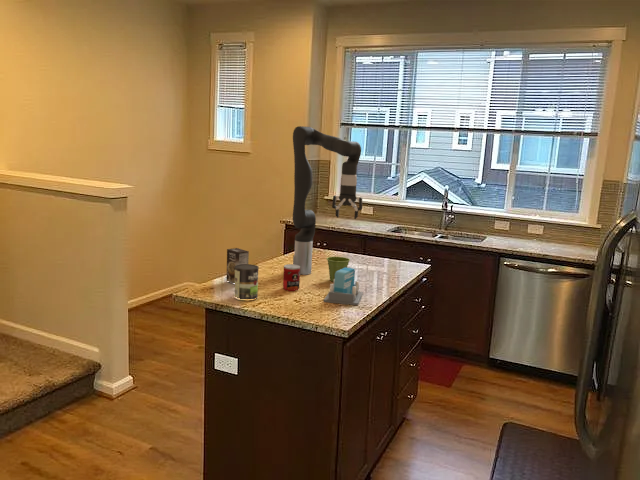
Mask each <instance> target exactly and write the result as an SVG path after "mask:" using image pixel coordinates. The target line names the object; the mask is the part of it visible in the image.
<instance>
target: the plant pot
mask: <svg viewBox="0 0 640 480" xmlns="http://www.w3.org/2000/svg"><path fill="white" fill-rule="evenodd" d="M326 261H327V265H328V273H329V280H330V281H331V282H332V283H334V279H335V273H336V271H338V270H340V269H343V268H345V267H346V268H348V266H349V262H350V261H351V259H350V258H349V257H344V256H328V257H326Z"/></svg>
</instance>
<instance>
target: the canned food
mask: <svg viewBox="0 0 640 480" xmlns="http://www.w3.org/2000/svg"><path fill="white" fill-rule="evenodd" d="M282 275H283V277H282V278H283V281H282V289H283V290H284V289H285V290H284V291H287V290H288V292H296V291H295V290H297V291H298V289H299V290H300V279H301V278H300V277H301V274H300V266H299V265H294V264H293V263H291V264H290V263H289V264H284V266H283V274H282Z"/></svg>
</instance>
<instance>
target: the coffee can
mask: <svg viewBox="0 0 640 480" xmlns="http://www.w3.org/2000/svg"><path fill="white" fill-rule="evenodd" d="M259 269H260V268H259V265H256V264H253V263H252V264H249V263H248V264H240V265H236V266H235V285H234V296H235V297H237V298H240V299H255V298H257V297H258V290H259V287H258V286H259ZM257 299H258V298H257Z"/></svg>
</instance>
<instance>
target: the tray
mask: <svg viewBox="0 0 640 480" xmlns="http://www.w3.org/2000/svg"><path fill="white" fill-rule="evenodd" d="M334 280H335V279H334ZM359 284H360V281H358V280H354V286H353V288H352V294H348V293H338V292H334V282H332V283H330V284H329V291H328V293H327V294H326V296H325V297H324V299H323V302H324V303H331V304H338V303H339V304H340V305H341V304H342V305H348V304H350V305H349V306H357V305H359V303H360V302H361V300H362V297H363V295H364V292H362V291H360V290H359V289H360V288H359V287H360V285H359Z"/></svg>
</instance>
